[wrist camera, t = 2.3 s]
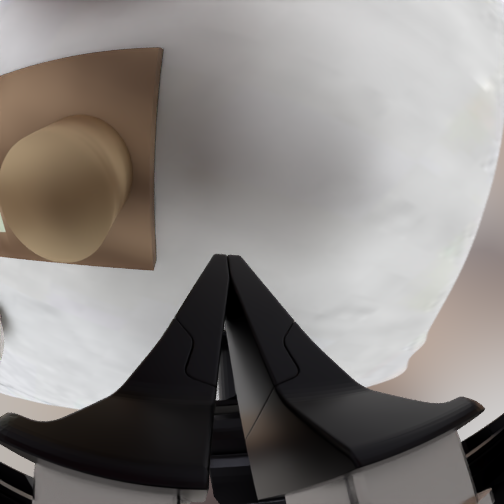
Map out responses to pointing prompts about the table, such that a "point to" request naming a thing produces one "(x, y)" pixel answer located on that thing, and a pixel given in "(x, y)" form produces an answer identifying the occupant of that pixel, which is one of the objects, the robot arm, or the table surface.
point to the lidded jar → (1, 339)
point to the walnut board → (107, 109)
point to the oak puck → (66, 187)
